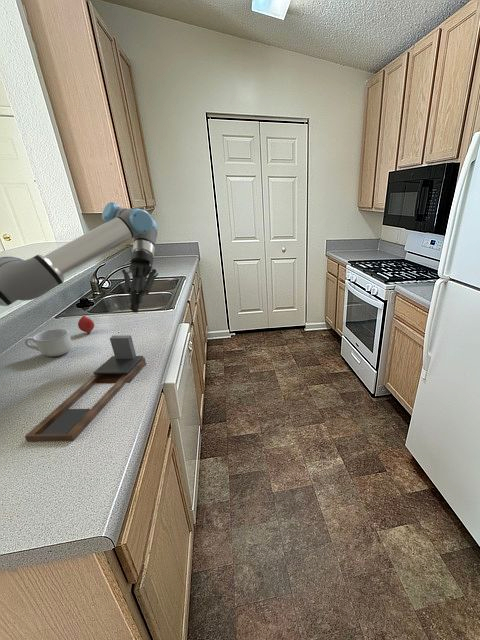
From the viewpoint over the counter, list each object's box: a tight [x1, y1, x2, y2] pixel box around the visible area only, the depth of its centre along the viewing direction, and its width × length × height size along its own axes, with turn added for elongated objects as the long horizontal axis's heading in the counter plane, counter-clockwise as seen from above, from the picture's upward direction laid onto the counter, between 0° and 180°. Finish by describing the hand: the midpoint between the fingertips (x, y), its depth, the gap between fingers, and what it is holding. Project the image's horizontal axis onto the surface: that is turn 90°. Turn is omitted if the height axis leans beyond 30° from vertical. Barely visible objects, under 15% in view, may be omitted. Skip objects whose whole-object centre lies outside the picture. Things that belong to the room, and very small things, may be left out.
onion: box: [77, 314, 95, 334], centre depth 142 cm, size 6×6×8 cm
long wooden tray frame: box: [24, 356, 147, 443], centre depth 97 cm, size 42×11×3 cm, turn 1°
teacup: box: [24, 328, 73, 358], centre depth 123 cm, size 14×11×8 cm
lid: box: [93, 334, 144, 375], centre depth 107 cm, size 12×11×8 cm
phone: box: [41, 408, 91, 434], centre depth 84 cm, size 11×6×1 cm, turn 1°
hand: (134, 310), depth 119 cm, fingers closed
